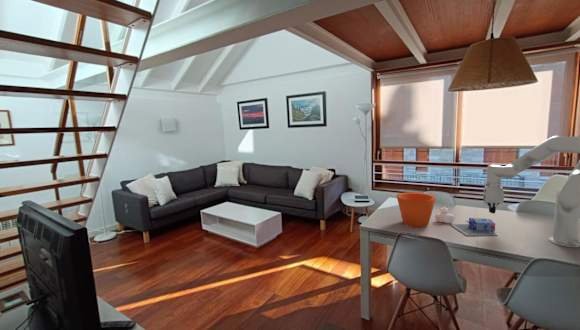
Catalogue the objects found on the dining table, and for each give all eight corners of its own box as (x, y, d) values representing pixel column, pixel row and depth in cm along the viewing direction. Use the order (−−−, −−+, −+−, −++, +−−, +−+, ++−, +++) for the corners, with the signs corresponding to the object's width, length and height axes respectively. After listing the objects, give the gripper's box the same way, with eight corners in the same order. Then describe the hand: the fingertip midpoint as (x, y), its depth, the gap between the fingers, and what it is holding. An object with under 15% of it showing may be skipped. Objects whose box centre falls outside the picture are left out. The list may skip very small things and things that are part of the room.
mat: (497, 236, 166) (497, 235, 166) (466, 236, 168) (466, 235, 168) (477, 224, 186) (477, 223, 186) (449, 225, 188) (450, 224, 188)
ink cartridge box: (495, 222, 171) (468, 222, 176) (495, 231, 172) (468, 230, 177) (490, 218, 180) (464, 217, 185) (490, 226, 181) (464, 225, 186)
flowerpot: (410, 231, 179) (411, 202, 176) (389, 220, 203) (389, 194, 201) (444, 227, 184) (444, 198, 181) (419, 216, 208) (419, 191, 206)
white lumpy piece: (454, 225, 192) (453, 210, 197) (455, 222, 186) (454, 206, 191) (434, 223, 198) (434, 209, 203) (435, 220, 192) (435, 205, 197)
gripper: (484, 186, 169) (483, 214, 172) (510, 185, 168) (508, 214, 170) (477, 183, 177) (476, 211, 179) (502, 183, 176) (500, 210, 178)
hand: (492, 212), depth 175 cm, fingers closed
